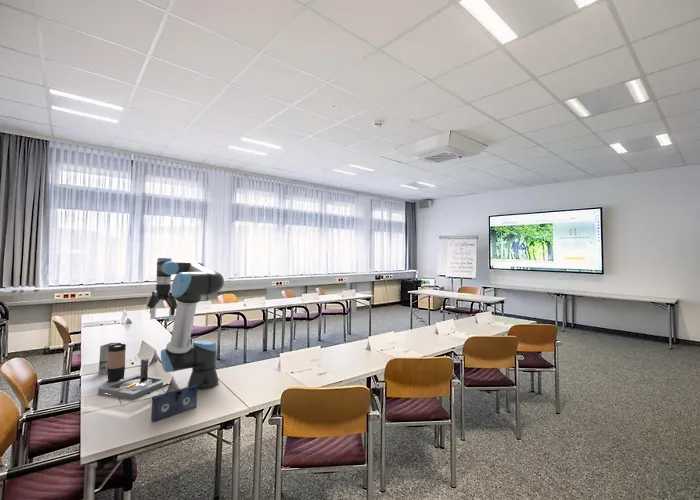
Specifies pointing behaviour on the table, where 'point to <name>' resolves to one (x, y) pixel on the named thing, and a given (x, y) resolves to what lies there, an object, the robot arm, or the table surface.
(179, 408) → the vhs cassette tape
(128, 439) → the table surface
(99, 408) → the table surface
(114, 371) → the travel mug
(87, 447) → the table surface
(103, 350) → the coffee box
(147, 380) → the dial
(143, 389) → the gray square tray
